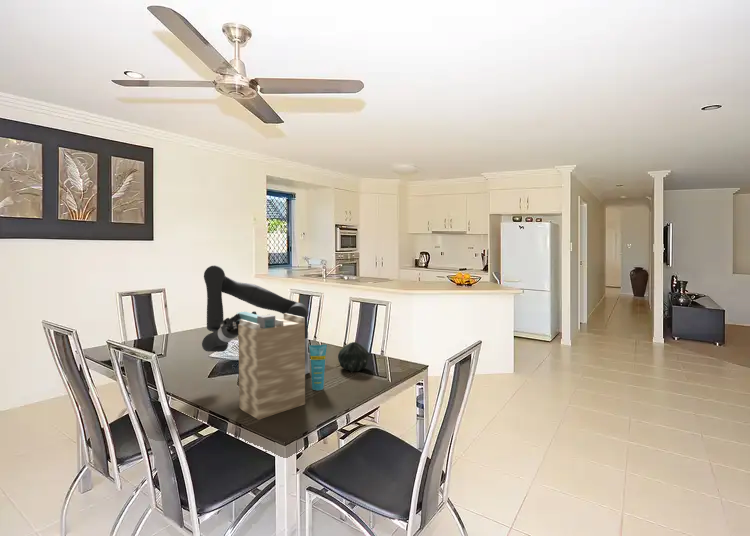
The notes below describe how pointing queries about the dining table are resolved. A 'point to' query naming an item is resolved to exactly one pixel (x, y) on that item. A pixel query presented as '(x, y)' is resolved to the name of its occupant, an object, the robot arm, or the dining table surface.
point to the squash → (353, 357)
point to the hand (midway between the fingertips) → (247, 314)
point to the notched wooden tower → (271, 366)
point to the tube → (317, 365)
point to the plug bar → (259, 319)
